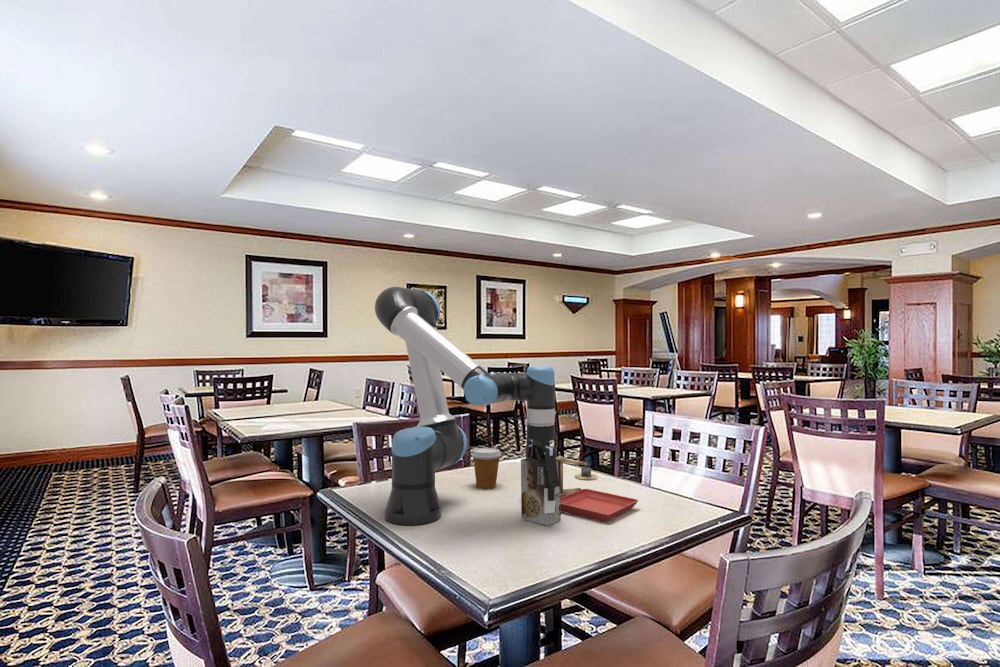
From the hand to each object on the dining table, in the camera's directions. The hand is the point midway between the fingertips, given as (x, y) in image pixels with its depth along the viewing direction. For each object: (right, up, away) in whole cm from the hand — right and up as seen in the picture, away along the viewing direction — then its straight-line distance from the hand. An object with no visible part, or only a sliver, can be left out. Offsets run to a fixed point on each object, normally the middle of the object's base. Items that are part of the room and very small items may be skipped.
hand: (540, 506), depth 147 cm
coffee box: (0, -4, 0) cm, 4 cm away
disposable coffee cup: (-15, -4, +34) cm, 37 cm away
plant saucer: (+16, -4, +8) cm, 19 cm away
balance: (+8, -4, +21) cm, 23 cm away
